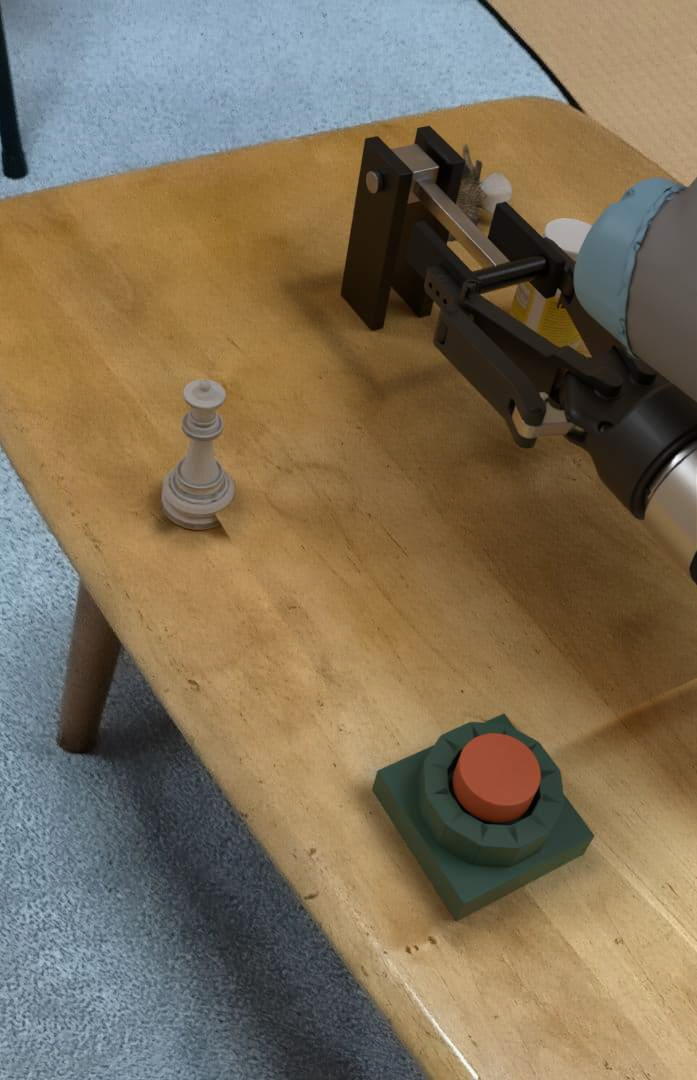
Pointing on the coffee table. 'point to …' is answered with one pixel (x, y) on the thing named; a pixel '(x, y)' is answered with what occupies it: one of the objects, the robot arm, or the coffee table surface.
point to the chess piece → (199, 463)
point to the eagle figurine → (480, 190)
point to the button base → (478, 823)
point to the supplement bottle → (544, 311)
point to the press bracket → (392, 227)
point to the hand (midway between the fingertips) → (456, 230)
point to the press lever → (467, 227)
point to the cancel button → (496, 778)
